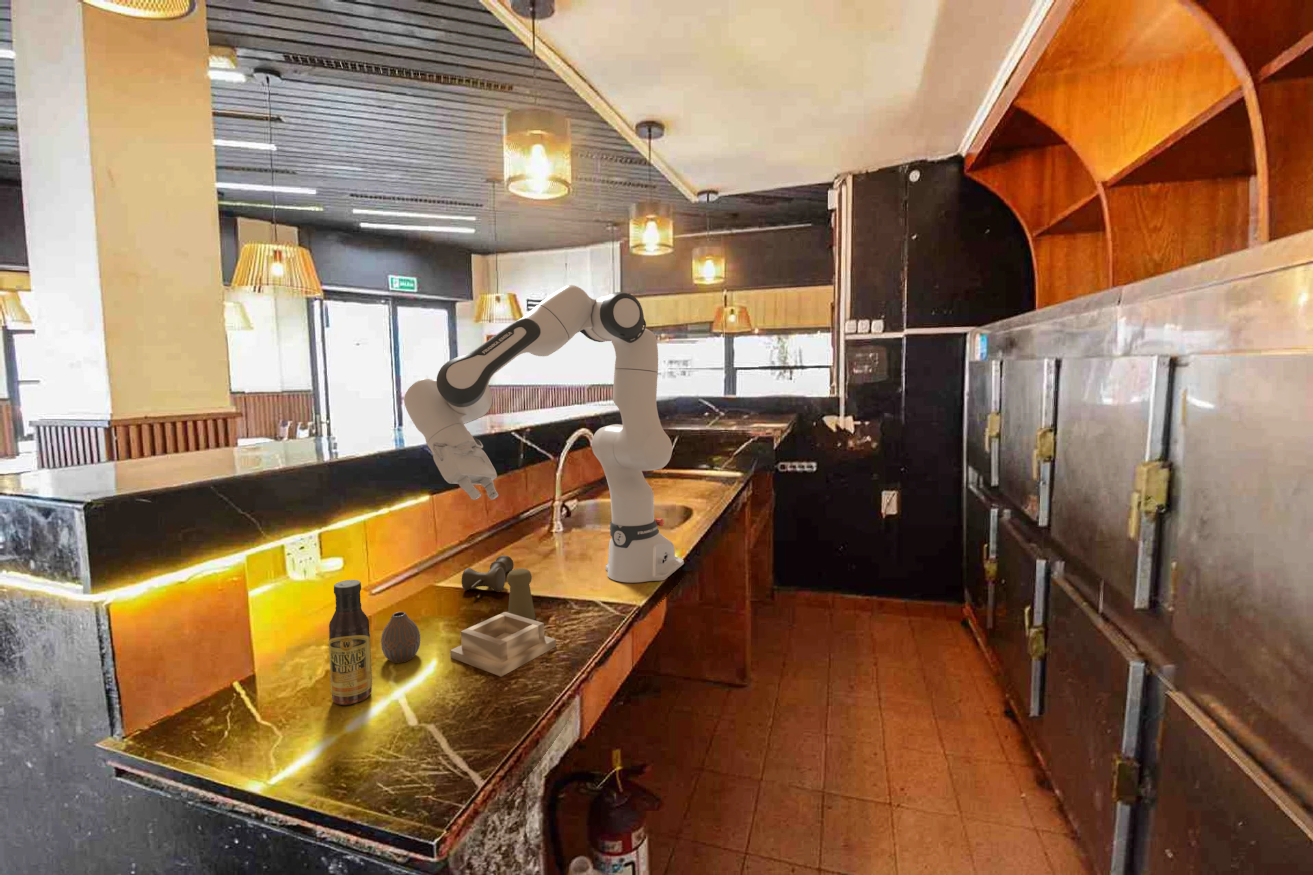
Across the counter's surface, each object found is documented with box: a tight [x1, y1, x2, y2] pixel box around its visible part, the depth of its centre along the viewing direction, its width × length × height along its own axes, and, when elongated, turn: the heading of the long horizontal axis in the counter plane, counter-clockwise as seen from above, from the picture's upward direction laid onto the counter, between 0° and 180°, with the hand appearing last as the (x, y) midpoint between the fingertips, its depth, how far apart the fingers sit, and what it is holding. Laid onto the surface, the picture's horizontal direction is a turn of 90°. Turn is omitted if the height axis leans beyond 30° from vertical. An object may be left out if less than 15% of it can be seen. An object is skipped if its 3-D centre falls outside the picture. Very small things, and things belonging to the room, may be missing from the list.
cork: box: [506, 568, 536, 621], centre depth 136 cm, size 6×6×11 cm
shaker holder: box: [449, 611, 557, 678], centre depth 120 cm, size 14×14×5 cm
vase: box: [380, 611, 421, 664], centre depth 119 cm, size 7×7×9 cm
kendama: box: [461, 554, 515, 593], centre depth 158 cm, size 6×10×20 cm
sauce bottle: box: [328, 579, 373, 706], centre depth 104 cm, size 6×6×20 cm
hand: (486, 497), depth 135 cm, fingers open, 8 cm apart
